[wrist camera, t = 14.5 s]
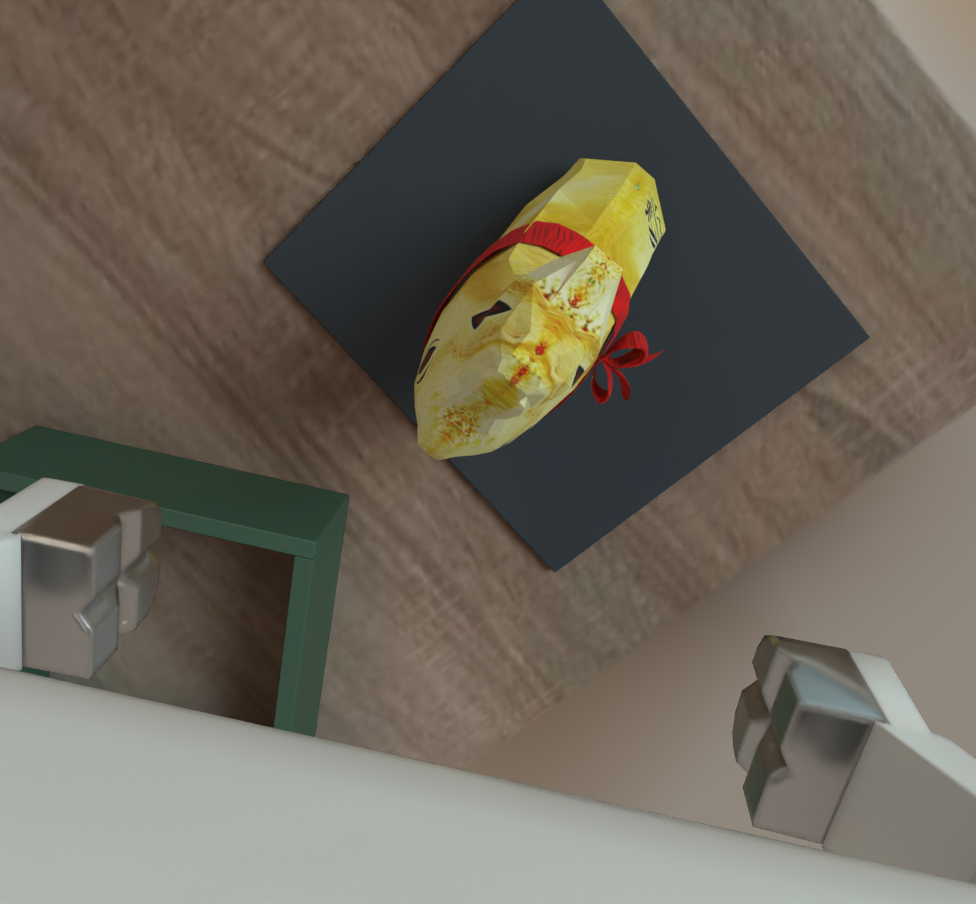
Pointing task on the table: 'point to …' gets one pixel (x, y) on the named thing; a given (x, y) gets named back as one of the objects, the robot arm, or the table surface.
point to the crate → (215, 532)
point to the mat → (653, 305)
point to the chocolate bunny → (540, 311)
